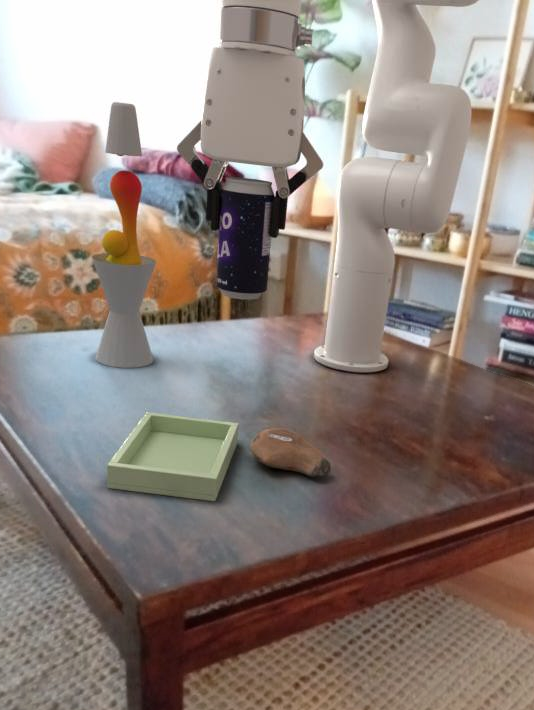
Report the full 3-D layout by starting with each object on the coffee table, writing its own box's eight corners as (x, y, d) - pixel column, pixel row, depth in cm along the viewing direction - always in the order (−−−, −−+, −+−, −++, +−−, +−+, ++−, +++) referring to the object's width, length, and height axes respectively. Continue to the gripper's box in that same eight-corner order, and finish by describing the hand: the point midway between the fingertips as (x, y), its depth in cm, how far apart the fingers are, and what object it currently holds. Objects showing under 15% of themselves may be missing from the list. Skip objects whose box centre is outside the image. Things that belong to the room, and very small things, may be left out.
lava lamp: (132, 347, 114) (132, 104, 99) (166, 362, 109) (171, 108, 93) (82, 354, 108) (74, 97, 92) (115, 371, 103) (112, 101, 87)
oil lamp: (265, 493, 75) (333, 488, 78) (270, 462, 73) (340, 458, 76) (242, 449, 82) (305, 446, 85) (246, 419, 80) (311, 417, 83)
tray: (146, 432, 84) (146, 411, 83) (237, 443, 84) (238, 423, 83) (107, 488, 71) (107, 465, 70) (215, 501, 71) (216, 478, 70)
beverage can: (237, 287, 82) (245, 177, 77) (276, 297, 80) (286, 183, 74) (204, 292, 78) (210, 175, 73) (244, 303, 75) (253, 182, 70)
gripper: (347, 52, 71) (325, 238, 79) (179, 32, 72) (174, 220, 79) (346, 42, 64) (322, 247, 72) (161, 21, 65) (157, 227, 73)
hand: (245, 230), depth 76 cm, fingers closed on beverage can, 5 cm apart
